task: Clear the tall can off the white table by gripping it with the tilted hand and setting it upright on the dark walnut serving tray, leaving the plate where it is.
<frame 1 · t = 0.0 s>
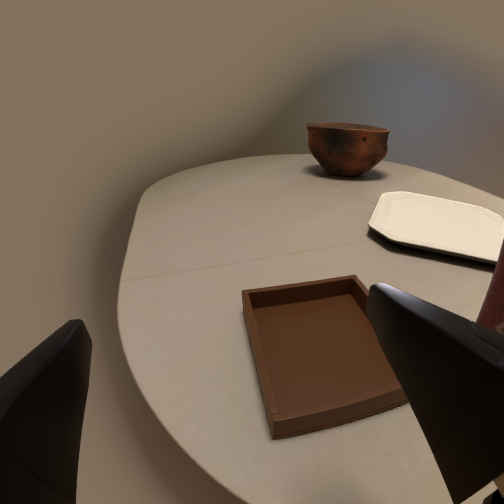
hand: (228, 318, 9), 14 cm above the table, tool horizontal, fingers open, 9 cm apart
tray: (324, 352, 25), on the table
plate: (446, 230, 48), on the table
can: (479, 385, 19), on the table
bowl: (346, 174, 88), on the table
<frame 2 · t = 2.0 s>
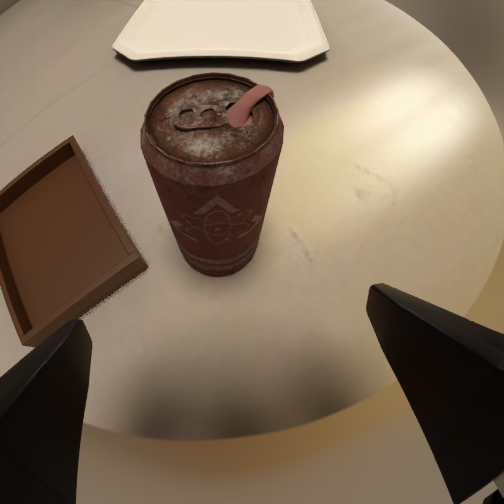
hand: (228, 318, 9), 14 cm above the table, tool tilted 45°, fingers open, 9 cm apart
tray: (55, 238, 23), on the table
plate: (223, 20, 37), on the table
can: (219, 239, 24), on the table
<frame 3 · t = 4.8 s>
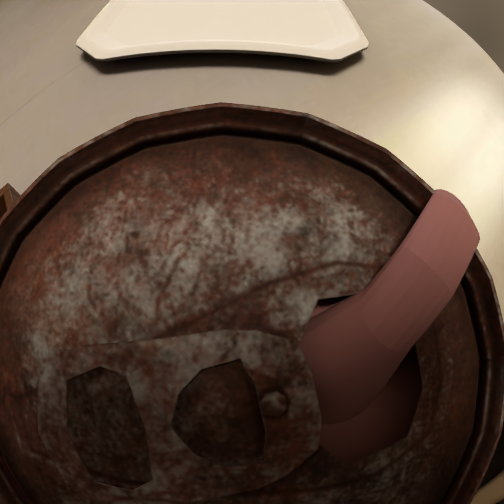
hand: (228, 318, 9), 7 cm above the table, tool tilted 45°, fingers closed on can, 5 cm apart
tray: (0, 338, 14), on the table
plate: (224, 5, 27), on the table
can: (231, 360, 15), on the table, touching gripper
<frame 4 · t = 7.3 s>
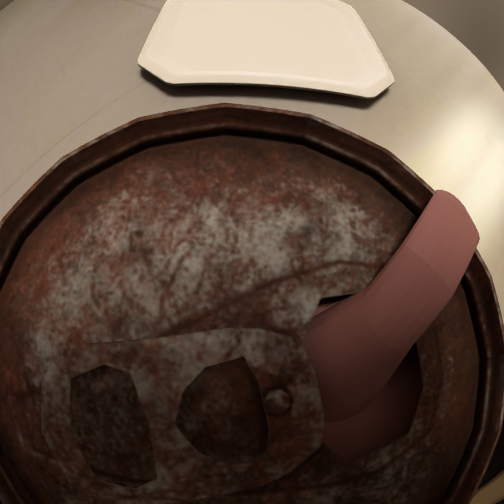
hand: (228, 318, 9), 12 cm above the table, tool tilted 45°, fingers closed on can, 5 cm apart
plate: (266, 32, 32), on the table
can: (230, 360, 15), point 5 cm above the table, touching gripper
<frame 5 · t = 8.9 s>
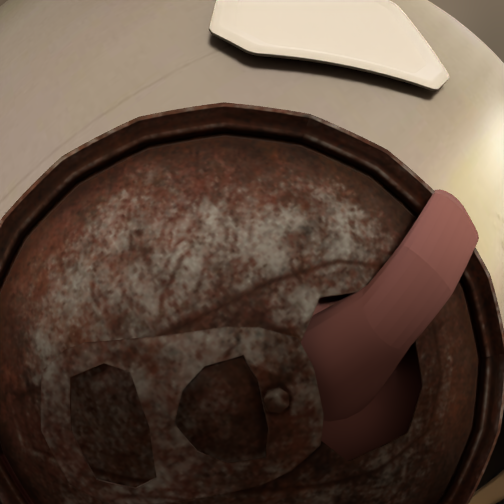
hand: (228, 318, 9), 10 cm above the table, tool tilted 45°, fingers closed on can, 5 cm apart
plate: (326, 20, 31), on the table
can: (229, 360, 15), point 2 cm above the table, touching gripper
when the fingers open (8 cm above the table, at t = 10.0 s): can stays where it is, resting on tray.
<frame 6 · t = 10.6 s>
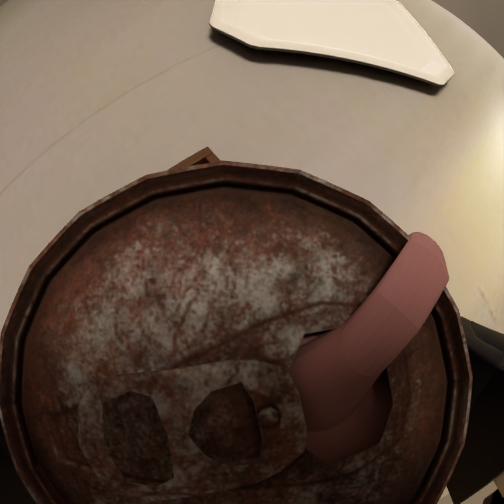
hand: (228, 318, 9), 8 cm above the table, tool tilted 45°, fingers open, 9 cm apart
tray: (199, 318, 17), on the table
plate: (328, 16, 30), on the table
can: (231, 365, 16), resting on tray
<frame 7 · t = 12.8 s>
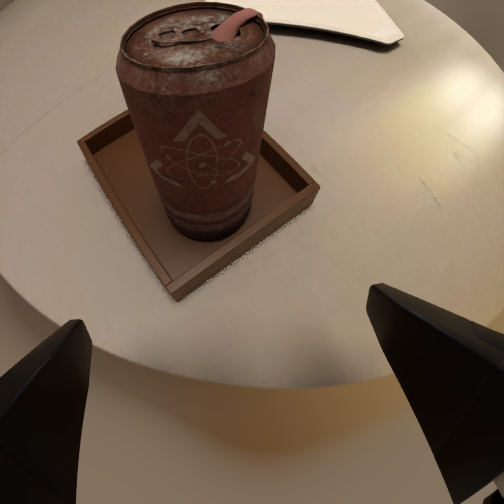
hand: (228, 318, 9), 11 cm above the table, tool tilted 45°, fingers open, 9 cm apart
tray: (188, 175, 23), on the table
plate: (299, 1, 36), on the table
can: (209, 202, 22), resting on tray
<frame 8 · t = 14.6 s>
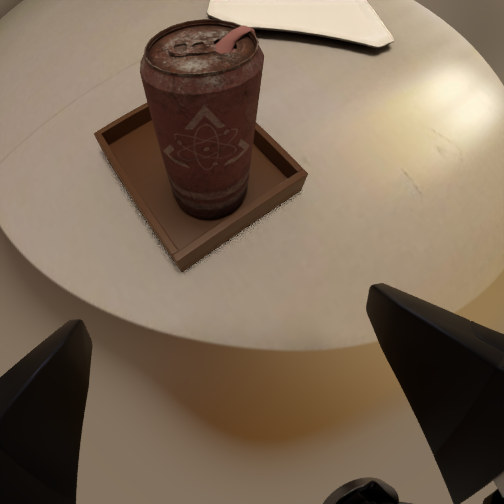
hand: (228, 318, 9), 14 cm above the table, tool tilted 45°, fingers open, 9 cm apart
tray: (193, 165, 26), on the table
plate: (297, 6, 39), on the table
can: (211, 187, 25), resting on tray
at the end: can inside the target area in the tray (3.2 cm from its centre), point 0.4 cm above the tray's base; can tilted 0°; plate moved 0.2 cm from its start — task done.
